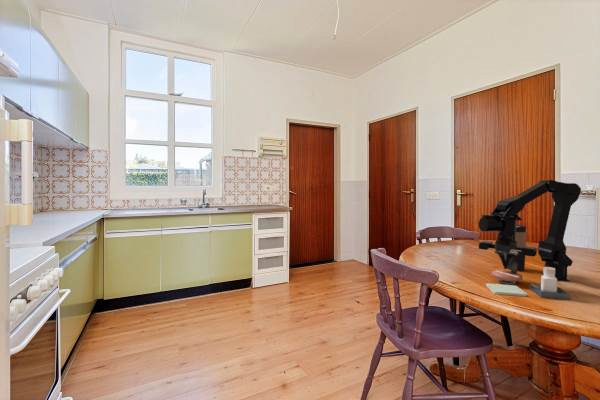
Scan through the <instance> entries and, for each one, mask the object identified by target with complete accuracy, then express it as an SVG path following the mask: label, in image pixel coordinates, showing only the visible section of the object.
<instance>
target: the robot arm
mask: <svg viewBox="0 0 600 400" xmlns="http://www.w3.org/2000/svg"><path fill="white" fill-rule="evenodd" d="M581 192H582V188H581V187H580V185H579V184H577V183H575V182H574V183H573V182H571V183H570V182H562V181H556V180H554V179H542V180H539V181H538V182H537V183H536V184H534V185H532V186H530V187H529V188H527V189H526V190H523V191H522V192H520V193H518V194H517V195H515V196H511V197H507V198H504V199H501V200H499V201H498V202H497V203H496V206H495V208H494V209H493V210H492V211H491V213H490V214H482V215H481V218H480V219H479V220H478V228H479V231H481V232H483V233H485V232H498V235H497V238H496V239H495V242H493V241H488V240H483V241H481V242H479V243H478V250H484V251H487V250H489V249H494V253H495V254H497V256H499V259H500V261H501V263H502V266H503V269H504V270H508V269H507V267H508V265H509V263H510V261H511V259H512V258H513V256H516V255H517V254H518V252H521V253H522V254H523V255H525V257H526V256H527V257H531V258H532V257H533V258H534V257H535V256H536V255H537V254H538V255H539V257H540V260H541V261H542V262H544V265H543V267H552V268H555V277H556V278H557V281H561V282H562V281H563V282H570V279H569V278H568V267H571V266H572V264H573V262H574V261H573V260H572V259H571V258H570V257H569V256H568V254H567V246H566V244H565V241H564V237H565V234H566V229H567V226H568V225H567V224H568V221H569V216H570V213H571V212H570V211H571V207H572V206H573V205H574V204H575V203H576V202H577V201H578V199H579V197H580V195H581ZM546 193H550V194H551V197H552V200H553V203H554V206H553V210H552V215H551V220H550V224H549V228H548V232H547V237H546V238H545V239H544V240H539V242H538V247H537V248H536V247H535V246H528V245H526V246H524V247H522V248H520V247H517V241H515V239H516V225H517V221H523V219H522V218H521V217H520V216H519V215H518V214H519V213H520V212H521V211H523V210H524V208H525V206H526V205H527V204H529V203H531V202H532V201H534V200H535V199H538V198H539V197H540V196H541V197H542V195H545V194H546ZM537 250H538V251H537ZM506 253H507V254H506ZM506 255H507V257H506ZM543 275H544V273H542V276H543Z"/></svg>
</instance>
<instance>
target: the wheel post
mask: <svg viewBox="0 0 600 400" xmlns="http://www.w3.org/2000/svg"><path fill="white" fill-rule="evenodd" d="M496 282H497V283H498V284H501V285H515V286H516V284H517V281H508V280H502V279H498V278H497V281H496Z"/></svg>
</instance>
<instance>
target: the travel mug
mask: <svg viewBox="0 0 600 400" xmlns="http://www.w3.org/2000/svg"><path fill="white" fill-rule="evenodd" d="M515 241H517V247H520V248H522V247H524V246H527V243H526V241H527V226H526V225H522V224H516V239H515ZM506 254H507V253H506ZM506 257H507V255H506ZM511 262H514V263H517V272H523V271H525V265H526V256H525V255H523V254H522V253H521V252H518V254H517V255H516V256H513V258H512V259H511V261H510V263H509V265H508V267H507V269H506V270H508V271H511Z"/></svg>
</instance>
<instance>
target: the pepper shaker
mask: <svg viewBox="0 0 600 400" xmlns="http://www.w3.org/2000/svg"><path fill="white" fill-rule="evenodd" d="M542 272H543V273H544V275H543V273H542V275H541V276H540V285H541V289H542V290H543V291H552V292H557V287H558V280H557V278H556V277H555V268H552V267H544V266H543V270H542Z"/></svg>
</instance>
